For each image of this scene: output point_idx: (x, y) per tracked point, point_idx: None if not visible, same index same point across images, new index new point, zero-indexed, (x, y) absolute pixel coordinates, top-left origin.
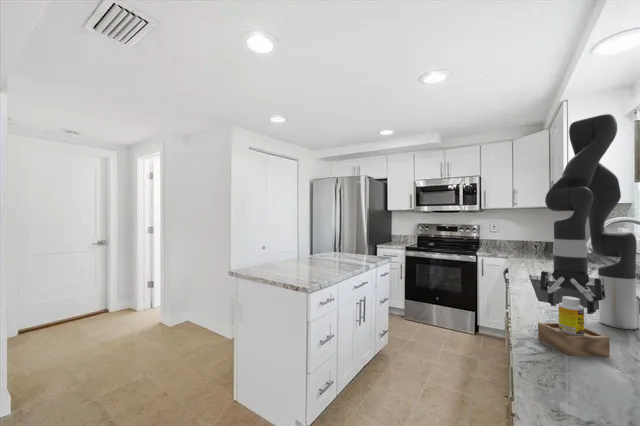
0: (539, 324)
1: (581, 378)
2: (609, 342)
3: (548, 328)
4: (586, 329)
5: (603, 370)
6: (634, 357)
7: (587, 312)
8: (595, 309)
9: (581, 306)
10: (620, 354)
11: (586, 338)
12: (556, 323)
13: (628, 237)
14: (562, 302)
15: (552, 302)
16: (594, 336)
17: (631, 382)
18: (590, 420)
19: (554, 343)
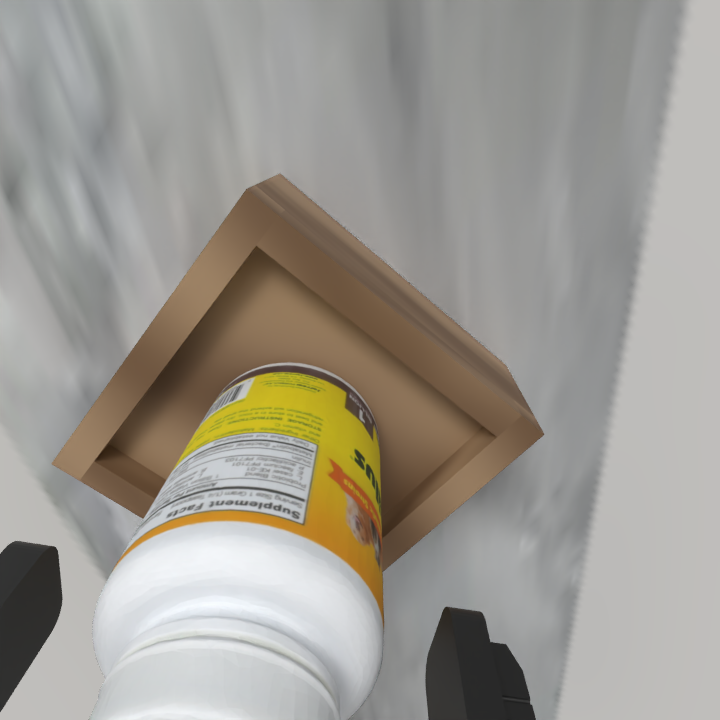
0: (74, 465)
1: (409, 703)
2: (531, 411)
3: None
4: (382, 342)
5: (474, 585)
6: (640, 257)
7: (428, 686)
8: (517, 699)
9: (358, 679)
10: (566, 270)
11: (406, 544)
12: (152, 365)
13: None
14: (112, 640)
15: (21, 668)
16: (450, 492)
17: (565, 620)
18: None
19: None
